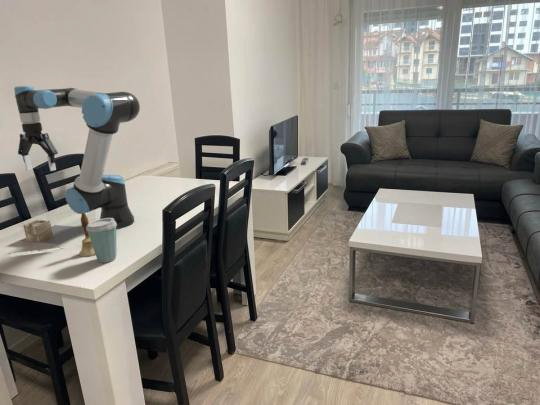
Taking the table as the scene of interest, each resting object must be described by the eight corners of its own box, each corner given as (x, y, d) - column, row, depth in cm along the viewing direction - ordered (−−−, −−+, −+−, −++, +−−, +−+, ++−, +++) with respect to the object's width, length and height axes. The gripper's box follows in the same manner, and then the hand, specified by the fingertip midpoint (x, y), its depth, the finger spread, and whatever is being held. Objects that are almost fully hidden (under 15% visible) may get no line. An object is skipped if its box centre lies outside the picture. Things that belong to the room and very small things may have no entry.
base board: (91, 230, 189) (90, 227, 188) (58, 247, 172) (58, 244, 171) (55, 228, 195) (55, 225, 195) (21, 243, 178) (20, 240, 177)
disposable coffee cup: (90, 267, 152) (82, 228, 147) (93, 255, 162) (86, 218, 157) (121, 262, 154) (115, 223, 150) (122, 251, 164) (116, 214, 160)
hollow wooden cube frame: (53, 236, 181) (49, 219, 178) (40, 242, 174) (36, 225, 172) (40, 234, 183) (36, 219, 181) (27, 241, 176) (23, 224, 174)
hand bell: (75, 253, 165) (68, 214, 161) (96, 246, 171) (89, 208, 166) (84, 258, 159) (76, 218, 155) (105, 251, 165) (98, 213, 160)
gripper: (60, 121, 184) (69, 168, 190) (16, 121, 192) (26, 167, 198) (46, 123, 177) (56, 172, 184) (2, 124, 185) (13, 171, 191)
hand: (41, 170), depth 191 cm, fingers open, 13 cm apart
